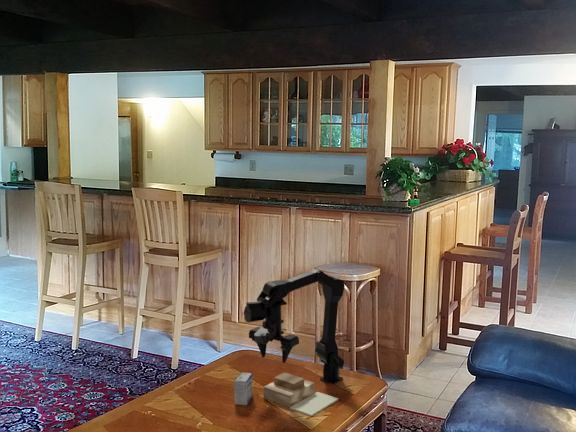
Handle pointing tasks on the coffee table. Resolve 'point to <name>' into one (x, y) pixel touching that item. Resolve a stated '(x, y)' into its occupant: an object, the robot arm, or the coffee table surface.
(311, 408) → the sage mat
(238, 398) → the medicine box
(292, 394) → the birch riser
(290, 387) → the walnut tile
